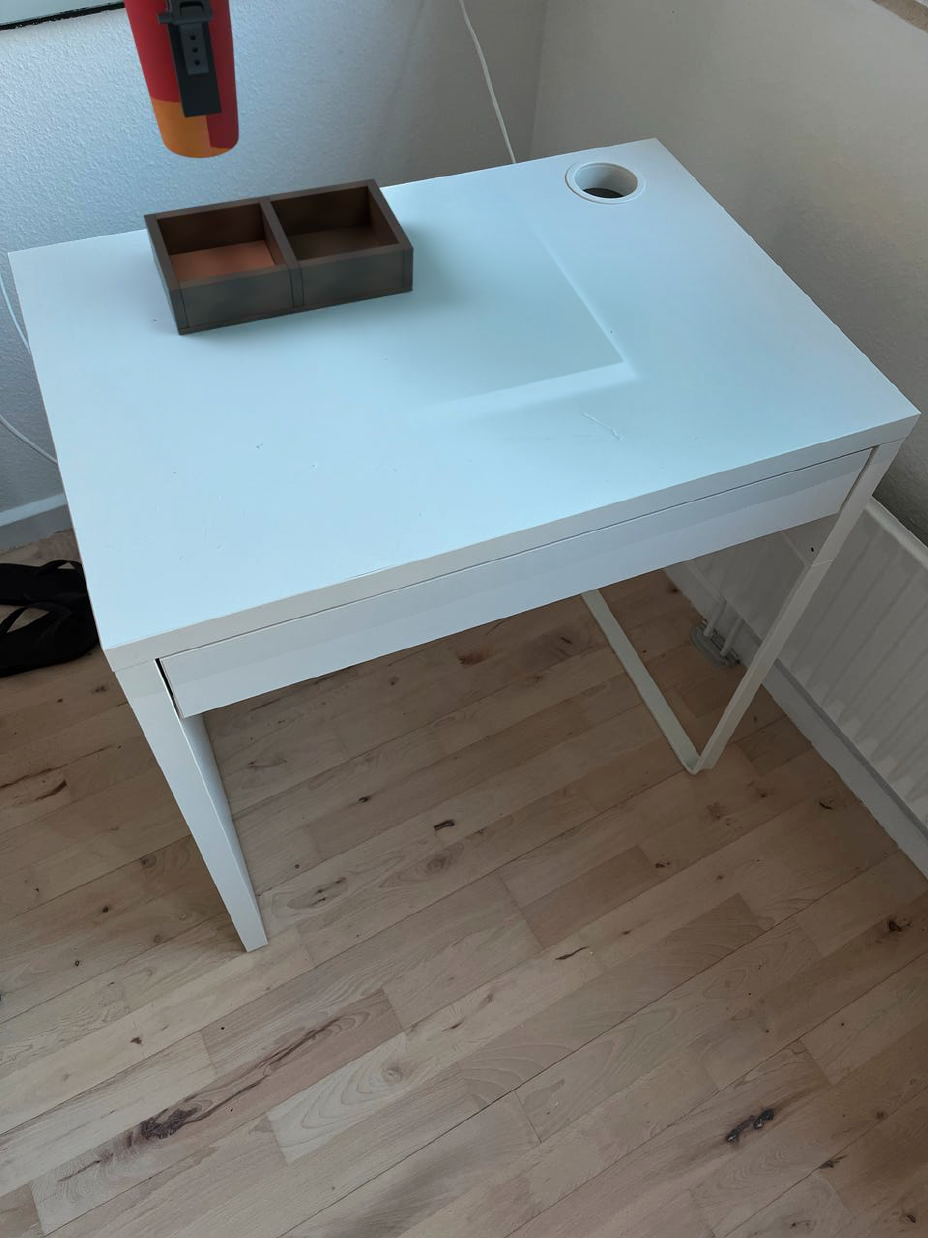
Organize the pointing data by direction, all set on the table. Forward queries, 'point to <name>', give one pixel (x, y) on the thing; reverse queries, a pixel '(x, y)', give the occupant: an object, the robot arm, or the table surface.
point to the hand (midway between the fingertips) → (189, 81)
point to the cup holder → (279, 254)
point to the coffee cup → (157, 64)
